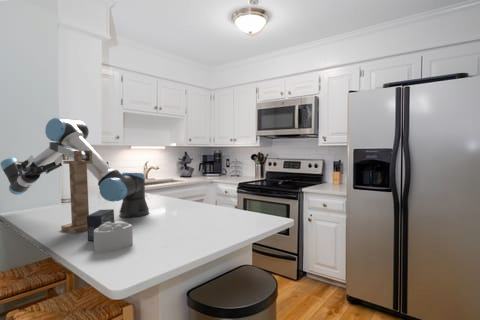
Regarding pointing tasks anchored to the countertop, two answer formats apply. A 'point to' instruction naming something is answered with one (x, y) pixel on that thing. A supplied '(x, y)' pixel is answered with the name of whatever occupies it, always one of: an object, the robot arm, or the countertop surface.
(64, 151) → the lever
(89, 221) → the small box
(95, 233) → the grey rounded container
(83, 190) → the stand
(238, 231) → the countertop surface
